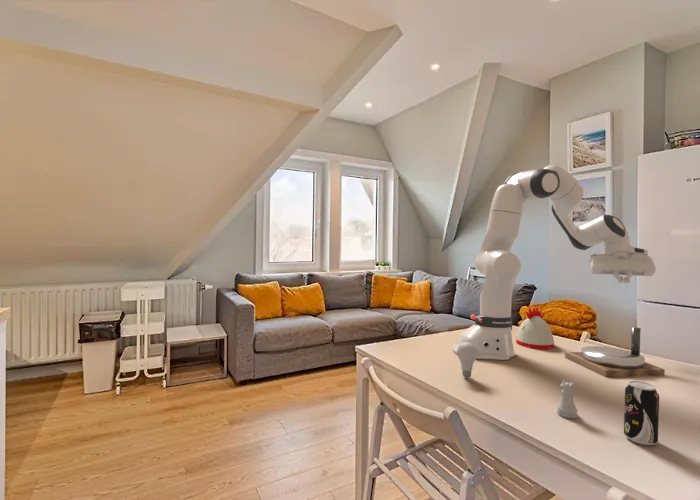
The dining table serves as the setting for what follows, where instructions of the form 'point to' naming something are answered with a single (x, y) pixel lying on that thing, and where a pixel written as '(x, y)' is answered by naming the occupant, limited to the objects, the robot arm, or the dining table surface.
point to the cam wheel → (617, 354)
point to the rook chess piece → (567, 401)
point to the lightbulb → (467, 357)
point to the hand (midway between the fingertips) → (624, 281)
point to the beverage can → (641, 413)
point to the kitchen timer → (535, 332)
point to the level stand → (615, 371)
